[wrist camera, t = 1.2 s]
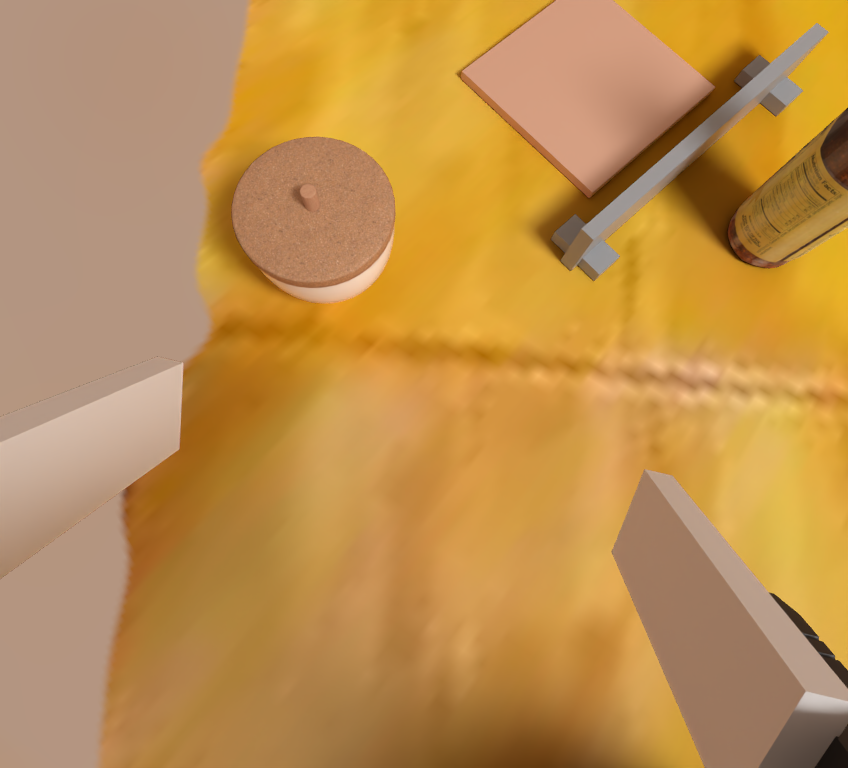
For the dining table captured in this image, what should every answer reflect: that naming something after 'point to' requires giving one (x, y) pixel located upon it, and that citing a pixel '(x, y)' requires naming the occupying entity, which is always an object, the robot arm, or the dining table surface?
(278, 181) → the lidded jar
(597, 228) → the grey wall
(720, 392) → the dining table surface
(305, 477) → the dining table surface
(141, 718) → the dining table surface
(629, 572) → the robot arm
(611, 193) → the dining table surface
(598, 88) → the terracotta tile
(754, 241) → the sauce bottle
